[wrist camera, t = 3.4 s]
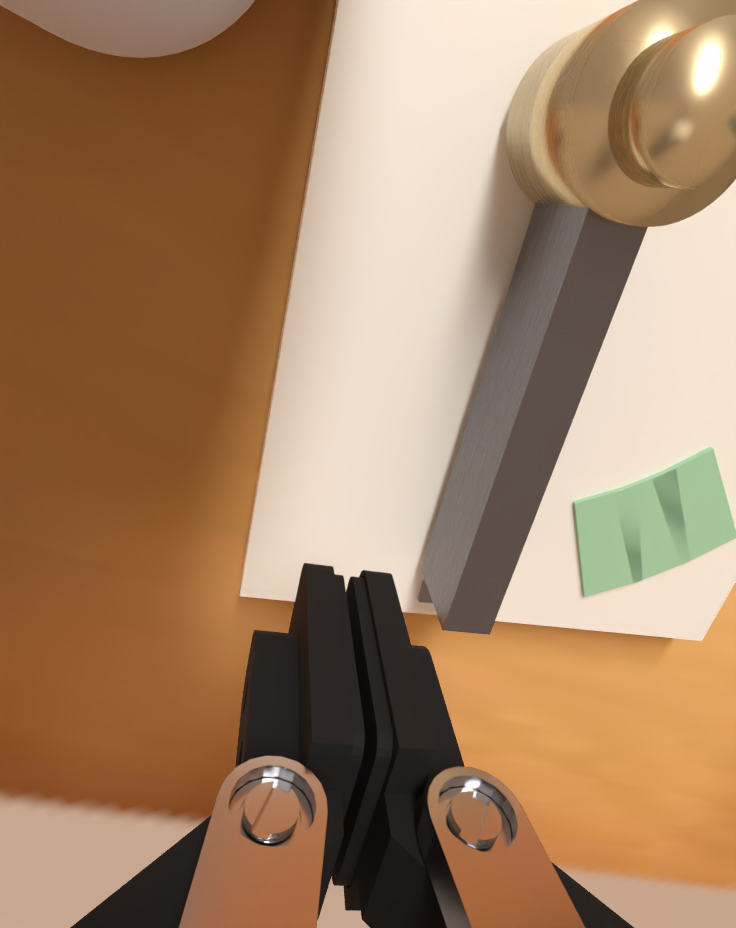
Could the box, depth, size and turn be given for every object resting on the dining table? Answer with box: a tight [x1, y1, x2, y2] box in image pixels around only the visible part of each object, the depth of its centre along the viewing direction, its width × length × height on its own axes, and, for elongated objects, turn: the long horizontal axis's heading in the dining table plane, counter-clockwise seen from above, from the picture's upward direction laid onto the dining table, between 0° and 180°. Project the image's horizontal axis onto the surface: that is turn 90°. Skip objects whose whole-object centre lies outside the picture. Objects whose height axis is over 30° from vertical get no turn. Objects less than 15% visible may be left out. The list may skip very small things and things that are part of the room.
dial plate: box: [240, 0, 736, 641], centre depth 20 cm, size 23×20×2 cm
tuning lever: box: [421, 0, 736, 634], centre depth 16 cm, size 17×4×6 cm, turn 168°
